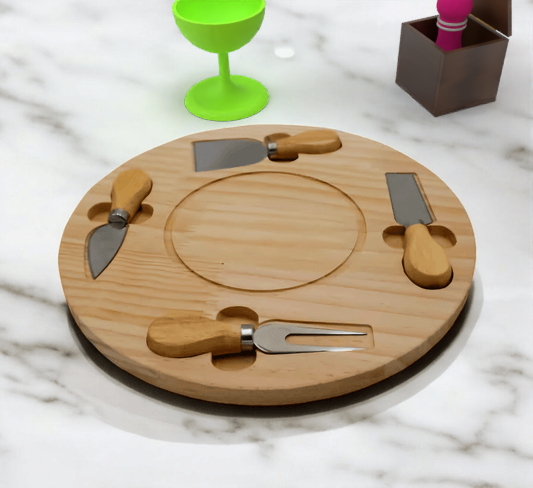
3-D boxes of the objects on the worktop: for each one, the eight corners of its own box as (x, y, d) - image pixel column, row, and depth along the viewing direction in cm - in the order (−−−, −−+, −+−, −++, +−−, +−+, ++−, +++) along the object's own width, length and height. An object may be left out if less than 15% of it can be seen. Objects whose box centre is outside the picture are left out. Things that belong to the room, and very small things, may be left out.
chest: (434, 117, 115) (444, 54, 107) (395, 82, 125) (401, 22, 117) (495, 101, 119) (509, 39, 111) (452, 68, 128) (462, 9, 120)
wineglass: (271, 118, 117) (268, 21, 105) (182, 123, 117) (169, 27, 105) (266, 75, 129) (263, -17, 117) (186, 80, 129) (174, -12, 116)
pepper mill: (453, 102, 117) (472, -9, 104) (415, 92, 120) (429, -17, 107) (466, 84, 122) (487, -25, 108) (429, 75, 125) (445, -32, 111)
